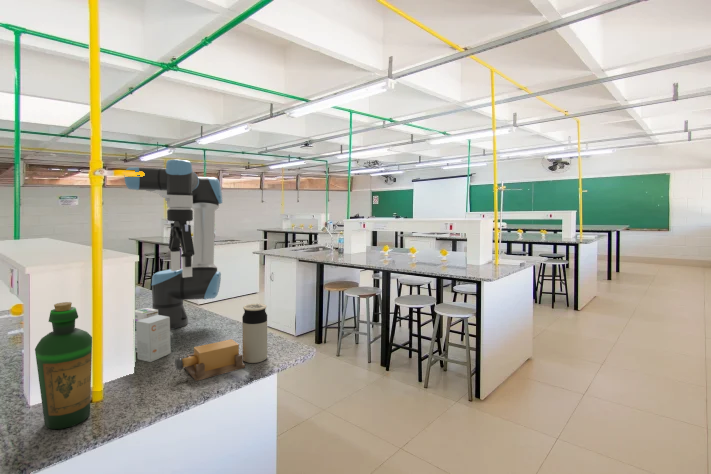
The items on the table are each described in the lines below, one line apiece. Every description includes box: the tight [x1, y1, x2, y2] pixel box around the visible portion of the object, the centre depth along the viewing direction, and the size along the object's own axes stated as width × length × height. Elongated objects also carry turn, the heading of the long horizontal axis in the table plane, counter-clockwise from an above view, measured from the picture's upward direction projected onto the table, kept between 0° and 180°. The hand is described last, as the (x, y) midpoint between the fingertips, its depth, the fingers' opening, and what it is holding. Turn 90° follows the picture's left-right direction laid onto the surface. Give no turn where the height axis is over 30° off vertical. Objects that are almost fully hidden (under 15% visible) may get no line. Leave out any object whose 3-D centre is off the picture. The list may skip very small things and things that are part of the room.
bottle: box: [34, 301, 93, 430], centre depth 87 cm, size 11×11×28 cm
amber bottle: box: [174, 338, 240, 371], centre depth 116 cm, size 18×6×6 cm, turn 129°
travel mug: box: [241, 302, 268, 364], centre depth 125 cm, size 8×8×18 cm
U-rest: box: [184, 352, 246, 382], centre depth 118 cm, size 15×11×4 cm
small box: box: [136, 315, 172, 363], centre depth 125 cm, size 8×6×13 cm
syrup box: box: [134, 307, 158, 353], centre depth 130 cm, size 6×6×14 cm
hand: (181, 273), depth 123 cm, fingers open, 13 cm apart
